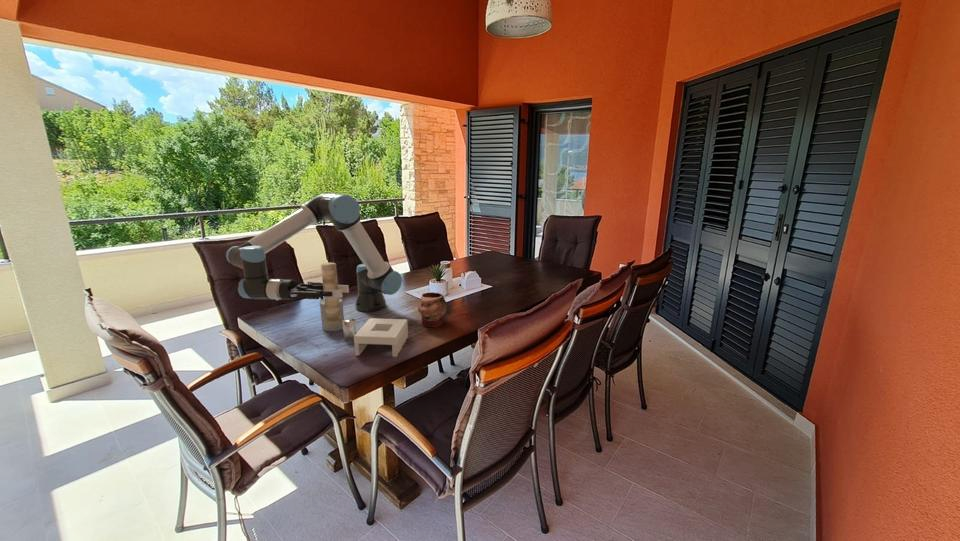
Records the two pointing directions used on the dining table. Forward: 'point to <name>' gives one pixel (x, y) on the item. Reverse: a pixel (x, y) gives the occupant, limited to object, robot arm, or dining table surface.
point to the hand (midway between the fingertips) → (345, 291)
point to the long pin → (331, 283)
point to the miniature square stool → (382, 334)
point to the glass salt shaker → (349, 329)
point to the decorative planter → (432, 309)
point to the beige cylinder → (323, 317)
